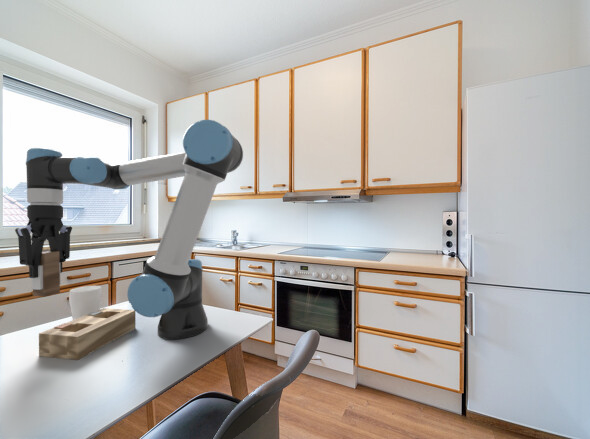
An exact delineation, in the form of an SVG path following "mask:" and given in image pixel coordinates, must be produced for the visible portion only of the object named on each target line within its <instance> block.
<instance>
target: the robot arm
mask: <svg viewBox="0 0 590 439" xmlns="http://www.w3.org/2000/svg"><path fill="white" fill-rule="evenodd" d="M182 147H183V149H184V151H183V152H182V151H181V152H175V153H171V154H165V155H158V156H153V157H146V158H142V159H135V160H130V161H124V162H118V163H113V164H109V163H105V162H104V161H102V160H101V158H100V157H96V156H89V155H88V156H87V155H79V156H78V155H77V156H74V155H73V156H63V154H62V153H61V152H60V151H58V150H56V149H51V148H45V147H44V148H41V147H33V148H29V149H28V150H27V152H26V160H25V166H26V200H27V201H26V203H28V204H30V205H28V206H27V207H26V212H27V213H26V216H27V218H28V222H27V223H26V225H25V226H23V227H17V228H15V229H14V231H15V232H14V233H16V235H17V238H18V239H17V240H18V255H19V264H20V265H23V266H26V267H27V266H28V274H29V275H28V277H29V279H31V290H33V289H37V290H41V289H43V265H39V264H40V260H41V255H42V252H43V250H44V249H43V248H44V244H45V242H46V241H47V242H48V247H49V249H50V250H49V251H59V266H60V274H61V273H62V272H63V263H65V262H66V260H68V259H70V256H71V255H70V254H71V251H70V250H71V233H72V230H73V227H72V226H67V225H65V224H64V223H63V221H62V219H63V218H64V206H63V205H62V204H64V188H63V187H64V185H65V184H68V185H69V184H73V185H75V184H77V185H87V186H95V187H100V188H101V187H102V188H108V189H113V190H126V189H127V188H129V187H130V186H133V185H139V184H140V185H141V184H147V183H151V182H152V183H153V182H157V181H158V182H159V181H164V180H169V179H175V178H176V179H177V178H181V177H183V180H182V182H181V185H180V187H179V191H178V192H177V196H176V199H175V201H174V203H173V206H172V209H171V212H170V215H169V217H168V220H167V223H166V226H165V227H164V228H165V229H164V231H163V234H162V236H161V239H160V242H159V245H158V247H157V249H156V253H155V254H154V255H152V256H151V257H149V258H147V260H146V262H145V266H144V267H143V270H142V272H141V274H140V275H137V276H136V277H135V278H133V279H132V280H131V282H130V283H129V285H128V287H127V293H126V294H127V300H128V302H129V304H130V305H131V308H132V310H135V313H137V314H138V315H139V316H142V317H147V318H156V317H160V318H159V322H158V324H157V335H158V337H160V338H162V339H166V340H168V339H169V340H178V339H179V340H180V339H186V338H191V337H194V336H197V335H200V334H201V333H204V332H205V331H206V330H207V329H208V324H209V320H208V316H207V313H206V311H205V308H204V305H203V264H202V261H201V260H200V259H198V258H197V259H195V258H194V259H193V258H192V259H191V256H192V253H193V250H194V248H195V244H196V242H197V239H198V237H199V234H200V232H201V229H202V226H203V224H204V222H205V219H206V215H207V212H208V210H209V207H210V204H211V202H212V199H213V196H214V194H215V191H216V189H217V185H219V184H220V183H223V182H225V181H226V179H227V175H228V173H229V174H230V173H232V172H235V171H236V170H237V169H238V168H239V167H240V165H241V164H242V162H243V159H244V151H243V147H242V145H241V143H240V141H239V140H238V139H237V138H236V137H235V136H234V135H233V134H232V133H231V132H230V130H229V129H228V127H226V126H224V125H223V124H222V123H220V122H218V121H216V120H214V119H213V120H212V119H201V120H198V121H196V122H194V123H192V124H191V125H190V126H189V127H188V128H187V129H186V130H185V133H184V135H183V138H182ZM31 234H32V235H31ZM61 285H62V284H61V279H60V286H61Z"/></svg>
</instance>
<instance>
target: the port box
mask: <svg viewBox="0 0 590 439" xmlns="http://www.w3.org/2000/svg"><path fill="white" fill-rule="evenodd" d="M136 324H137V323H136V311H135V310H134V309H122V308H107V307H104V308H100V310H98V311H95V312H92V313H89V314H87V315H85V316H83V317H80V318H77V319H75V320H73V319H72V320H70V321H67V322H64V323H62V324H59V325H56V326H54V327H52V328H50V329H47V330H44V331H41V332H39V333H38V356H39V357H45V358H55V359H63V360H65V359H66V360H75V361H79V360H80V359H82V358H84V357H87V356H88V355H89V354H92V353H93V352H95V351H97V350H99V349H101V348H102V347H105V346H106V345H108V344H110V343H112V342H113V341H116V340H117V339H119V338H121V337H123V336H124V335H126V334H128V333H130V332H131V331H133V330H135V329H136Z"/></svg>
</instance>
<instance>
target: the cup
mask: <svg viewBox="0 0 590 439" xmlns="http://www.w3.org/2000/svg"><path fill="white" fill-rule="evenodd" d="M102 292H103V290H102V286H101V285H84V286H79V287H75V288H71V289H70V290H69V294H68V295H69V297H68V301H69V302H68V303H69V308H70V312H71V313H70V314H71V317H72V318H71V319H72V320H75V319H77V318H80V317H83V316H85V315H87V314H89V313H92V312H95V311H98V310H101V305H102V304H101V303H102V298H103V293H102Z"/></svg>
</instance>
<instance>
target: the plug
mask: <svg viewBox="0 0 590 439" xmlns="http://www.w3.org/2000/svg"><path fill="white" fill-rule="evenodd" d="M39 265H43V289H41V290H37V289H32V296H33V297H41V298H43V297H49V296H52V295H56V294H60V293H61V292H60V291H61V289H60V288H61V285H60V280H61V273H60V266H59V251H50V250H47V251H42V255H41V260H40V264H39Z"/></svg>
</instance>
